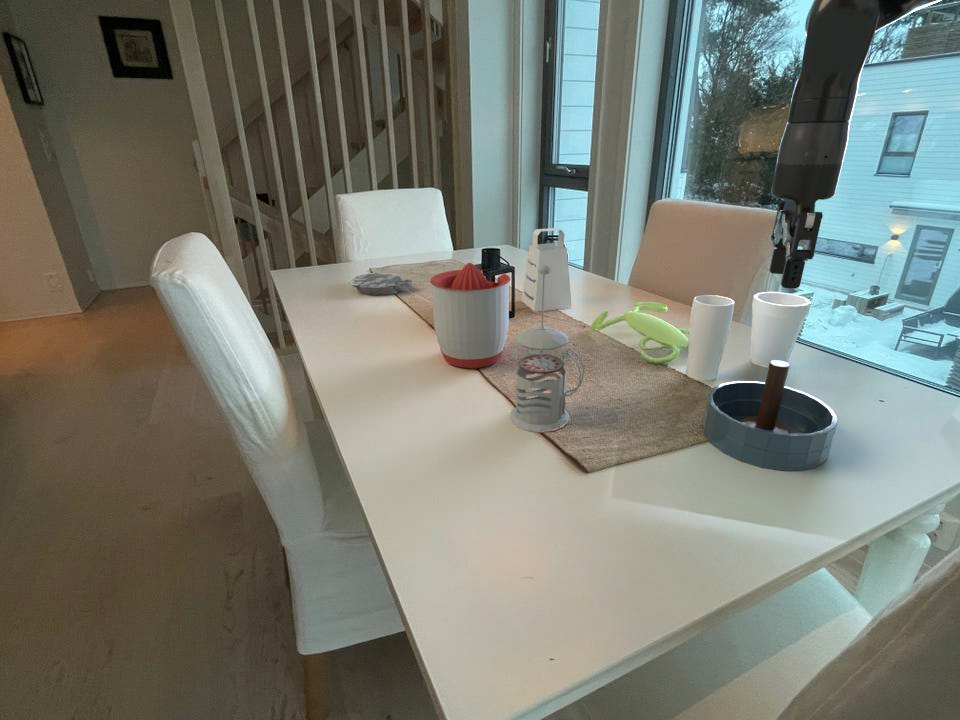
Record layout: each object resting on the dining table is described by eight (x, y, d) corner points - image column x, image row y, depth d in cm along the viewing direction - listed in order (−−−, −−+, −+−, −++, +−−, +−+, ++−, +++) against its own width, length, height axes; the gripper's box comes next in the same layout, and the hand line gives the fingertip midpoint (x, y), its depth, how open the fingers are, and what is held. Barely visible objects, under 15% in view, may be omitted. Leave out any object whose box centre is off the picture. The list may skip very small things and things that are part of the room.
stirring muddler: (780, 430, 77) (799, 357, 72) (789, 452, 72) (809, 374, 67) (737, 425, 79) (752, 353, 74) (742, 445, 73) (759, 369, 69)
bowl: (810, 422, 80) (819, 388, 78) (841, 483, 66) (854, 444, 64) (698, 408, 85) (704, 375, 82) (706, 463, 71) (713, 425, 68)
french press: (523, 397, 89) (525, 255, 79) (588, 411, 84) (599, 261, 74) (499, 423, 81) (498, 269, 72) (569, 441, 76) (578, 277, 66)
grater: (521, 300, 143) (522, 227, 135) (556, 297, 145) (559, 225, 137) (534, 311, 134) (536, 234, 126) (571, 307, 136) (575, 231, 128)
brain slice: (337, 290, 156) (336, 281, 155) (380, 279, 168) (379, 270, 167) (378, 301, 145) (377, 291, 144) (422, 288, 157) (421, 279, 155)
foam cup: (754, 349, 107) (767, 289, 102) (802, 362, 101) (818, 298, 96) (733, 361, 102) (745, 298, 97) (782, 376, 95) (798, 309, 90)
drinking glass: (683, 383, 93) (695, 304, 87) (679, 368, 99) (690, 293, 93) (723, 386, 92) (738, 306, 86) (717, 371, 98) (730, 295, 92)
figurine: (648, 316, 128) (651, 295, 126) (728, 354, 105) (733, 329, 103) (583, 326, 123) (584, 303, 120) (652, 368, 99) (656, 341, 97)
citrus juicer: (529, 352, 108) (531, 258, 100) (477, 381, 96) (474, 276, 88) (473, 337, 117) (470, 249, 110) (419, 361, 105) (411, 265, 97)
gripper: (860, 162, 60) (826, 295, 67) (826, 158, 73) (800, 270, 79) (789, 163, 63) (762, 291, 69) (768, 158, 75) (747, 267, 81)
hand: (783, 280), depth 74 cm, fingers open, 8 cm apart
